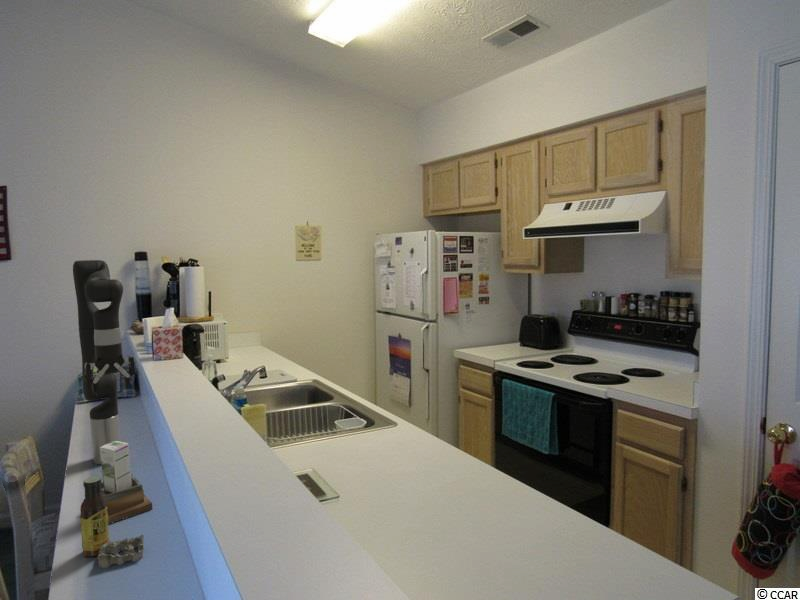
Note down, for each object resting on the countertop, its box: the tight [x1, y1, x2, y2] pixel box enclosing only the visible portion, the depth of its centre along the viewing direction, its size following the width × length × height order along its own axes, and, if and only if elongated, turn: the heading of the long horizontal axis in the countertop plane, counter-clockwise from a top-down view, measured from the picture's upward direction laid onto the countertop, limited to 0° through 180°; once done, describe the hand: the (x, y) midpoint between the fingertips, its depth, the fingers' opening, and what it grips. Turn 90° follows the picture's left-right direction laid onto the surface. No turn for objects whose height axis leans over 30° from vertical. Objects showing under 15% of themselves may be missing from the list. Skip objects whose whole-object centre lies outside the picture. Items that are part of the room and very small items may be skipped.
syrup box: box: [100, 441, 132, 493], centre depth 158 cm, size 6×6×14 cm
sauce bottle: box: [79, 476, 110, 558], centre depth 137 cm, size 6×6×20 cm
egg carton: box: [96, 534, 145, 569], centre depth 135 cm, size 11×8×4 cm
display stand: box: [101, 473, 153, 525], centre depth 159 cm, size 16×14×8 cm
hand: (111, 391), depth 166 cm, fingers open, 8 cm apart
